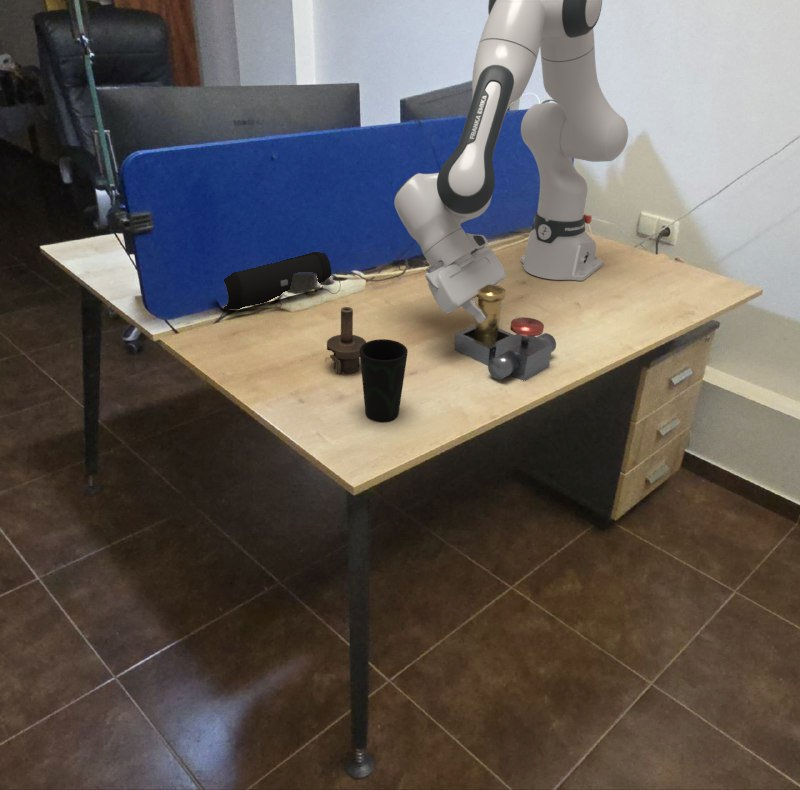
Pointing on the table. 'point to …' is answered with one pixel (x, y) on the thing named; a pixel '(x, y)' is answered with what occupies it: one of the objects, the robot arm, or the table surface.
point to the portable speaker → (272, 279)
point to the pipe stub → (489, 313)
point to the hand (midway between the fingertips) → (491, 315)
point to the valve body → (511, 349)
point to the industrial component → (345, 345)
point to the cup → (382, 378)
